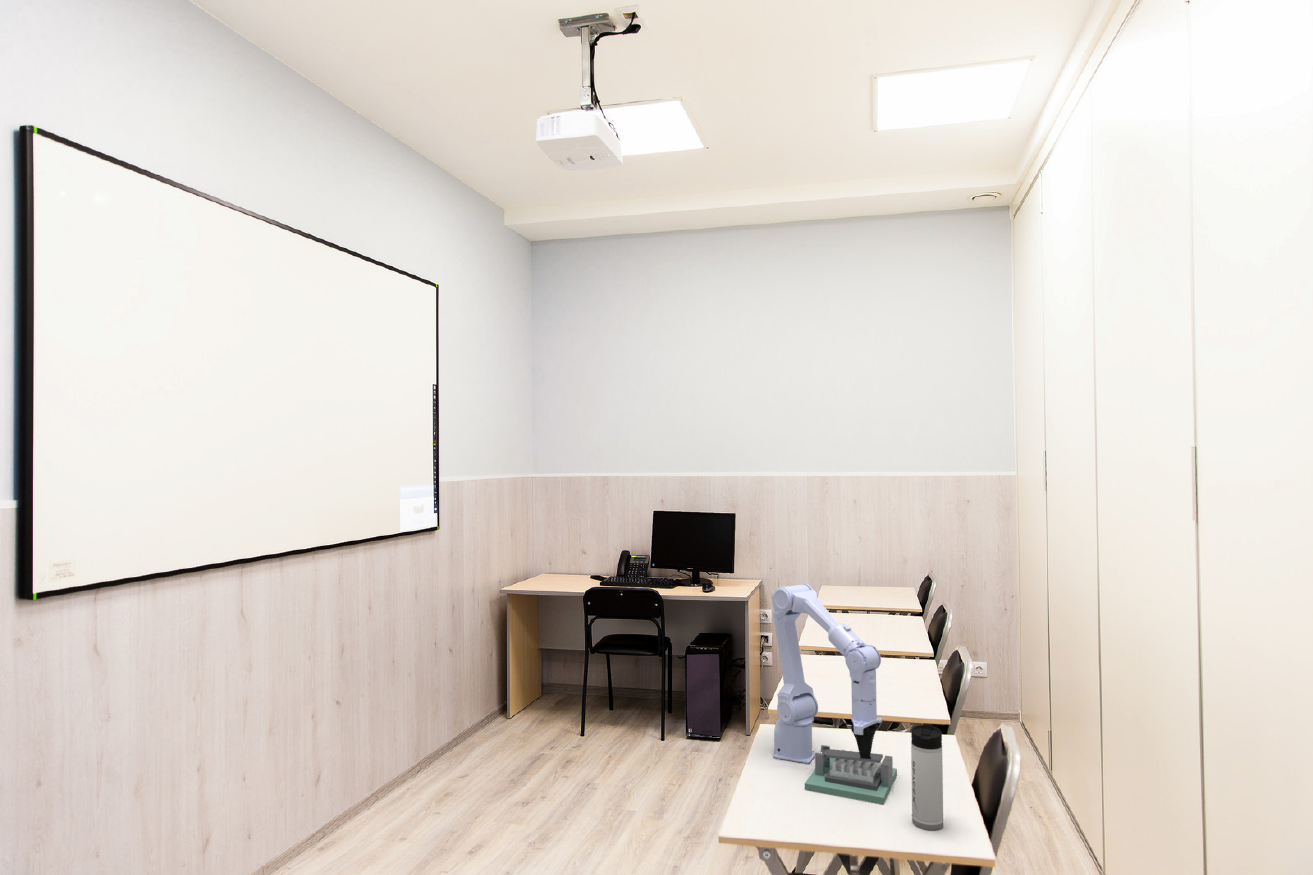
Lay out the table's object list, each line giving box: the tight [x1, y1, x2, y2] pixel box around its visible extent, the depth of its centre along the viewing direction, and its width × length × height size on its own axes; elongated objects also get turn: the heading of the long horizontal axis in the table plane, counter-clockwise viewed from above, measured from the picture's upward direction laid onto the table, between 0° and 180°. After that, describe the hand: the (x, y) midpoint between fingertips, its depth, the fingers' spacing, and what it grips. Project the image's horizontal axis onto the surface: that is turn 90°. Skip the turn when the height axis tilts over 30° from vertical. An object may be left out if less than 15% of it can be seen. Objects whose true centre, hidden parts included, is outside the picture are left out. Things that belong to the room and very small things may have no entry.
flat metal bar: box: [819, 748, 884, 763], centre depth 186 cm, size 14×4×1 cm, turn 64°
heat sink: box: [814, 744, 894, 787], centre depth 186 cm, size 17×10×5 cm, turn 64°
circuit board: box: [804, 758, 898, 805], centre depth 186 cm, size 18×18×2 cm
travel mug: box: [910, 722, 944, 831], centre depth 165 cm, size 6×7×20 cm
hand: (865, 756), depth 185 cm, fingers closed, pressing on flat metal bar
